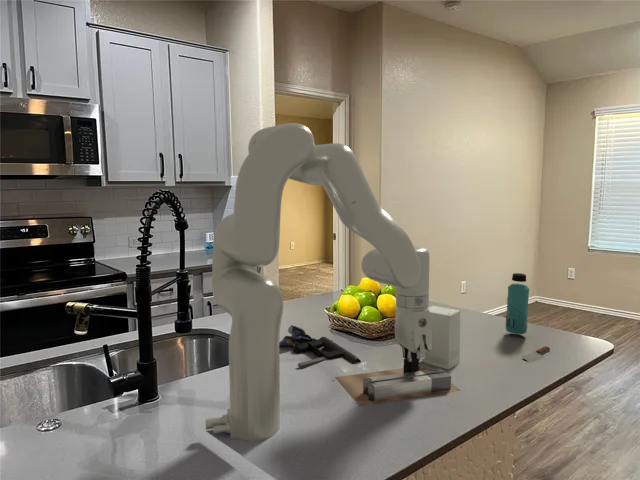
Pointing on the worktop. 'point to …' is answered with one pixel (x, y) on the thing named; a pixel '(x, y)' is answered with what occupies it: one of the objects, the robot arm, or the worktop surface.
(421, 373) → the tongs arm
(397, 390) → the arm
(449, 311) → the skincare box
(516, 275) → the beverage bottle
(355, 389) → the cutting board
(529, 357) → the cleaver
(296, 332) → the snack package
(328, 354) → the black submachine gun
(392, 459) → the worktop surface
